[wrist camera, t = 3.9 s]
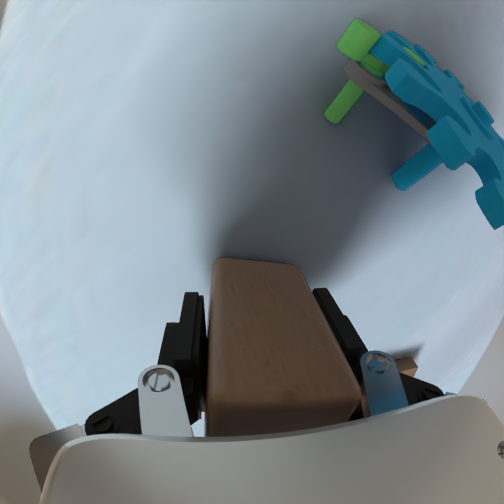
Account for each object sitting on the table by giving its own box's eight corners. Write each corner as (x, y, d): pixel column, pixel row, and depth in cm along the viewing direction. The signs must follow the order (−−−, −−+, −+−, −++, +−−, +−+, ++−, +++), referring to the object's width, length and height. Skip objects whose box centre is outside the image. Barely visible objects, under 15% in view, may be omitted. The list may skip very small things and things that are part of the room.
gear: (510, 129, 10) (561, 278, 5) (449, 175, 15) (456, 316, 11) (366, -5, 8) (355, 29, 4) (314, 71, 14) (251, 186, 9)
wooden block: (214, 253, 13) (209, 401, 6) (299, 261, 13) (370, 395, 6) (206, 324, 14) (204, 468, 7) (282, 329, 15) (321, 462, 8)
